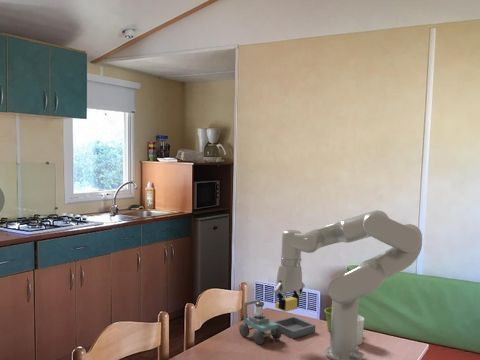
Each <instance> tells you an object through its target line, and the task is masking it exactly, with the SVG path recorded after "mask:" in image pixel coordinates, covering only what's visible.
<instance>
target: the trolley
mask: <svg viewBox="0 0 480 360" xmlns="http://www.w3.org/2000/svg"><path fill="white" fill-rule="evenodd" d="M257 301H260V302H261V299H253V300H249V301H245V302H244V304H243V305H244V307H243V309H244V310H243V319H242V320H243V321H242V322H243V323H242V324H240V325H239V328H238V330H239V334H240V336H242V337H243V338H245V337H248V336H249V334H250V330H251V331H252V330H256V331H254V332H253V335H252V336H253V340H254V343H255V344H257V345H259V346H260V345H262V344H263V343H264V341H265V337H266V338H267V337H270V336H271V338H273V339H274V340H279V339H281V338H282V333H281V330H280V328H279V327H278V324H276V323H274V322H273V321H272V320H270V318H269V317H267V316H265V315H263V319H259V320H258V319H256V318H255V314H253V315H249V316H247V315H248V305H253V304H254V305H255V302H257ZM268 331H269V332H270V333H267V334H263V333H265V332H268Z"/></svg>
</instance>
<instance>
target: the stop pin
mask: <svg viewBox="0 0 480 360" xmlns="http://www.w3.org/2000/svg"><path fill="white" fill-rule="evenodd" d="M264 305H265V302H264V301H261V300H260V301H257V302H255V303H254V306H255V314H254V315H255V318H256V319H258V320H259V319H263V316H264Z"/></svg>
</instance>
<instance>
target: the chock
mask: <svg viewBox="0 0 480 360" xmlns="http://www.w3.org/2000/svg"><path fill="white" fill-rule="evenodd" d="M285 300H286V307H285V310H282V309H280V308H279V301H278V302H275V305H274V306H275V309H278V310H281V311H282V312H285V313H286V312H289V311H293V310H294V311H295V310H298V307H297V298H294V297H292V296H290V297H285Z"/></svg>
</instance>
